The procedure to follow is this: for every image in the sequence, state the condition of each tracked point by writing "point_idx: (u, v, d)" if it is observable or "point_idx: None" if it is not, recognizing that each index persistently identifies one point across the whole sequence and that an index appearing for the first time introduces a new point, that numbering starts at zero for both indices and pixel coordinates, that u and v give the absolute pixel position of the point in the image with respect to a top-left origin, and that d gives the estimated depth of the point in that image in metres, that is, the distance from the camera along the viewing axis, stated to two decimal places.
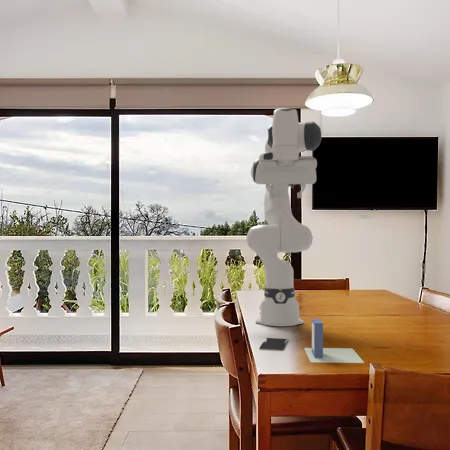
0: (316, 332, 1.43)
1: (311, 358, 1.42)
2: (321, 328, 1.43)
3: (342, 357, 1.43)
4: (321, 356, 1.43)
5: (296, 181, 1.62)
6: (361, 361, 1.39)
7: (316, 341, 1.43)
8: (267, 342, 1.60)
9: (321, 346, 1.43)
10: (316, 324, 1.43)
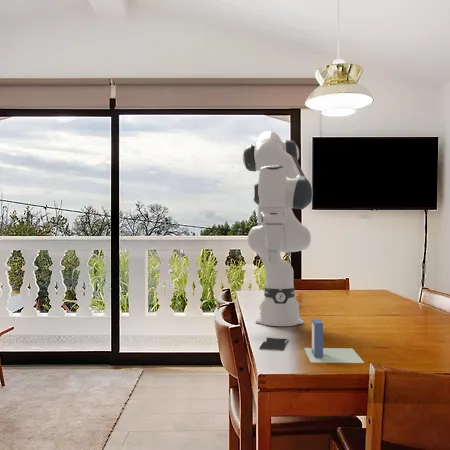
0: (316, 332, 1.43)
1: (311, 358, 1.42)
2: (321, 328, 1.43)
3: (342, 357, 1.43)
4: (321, 356, 1.43)
5: None
6: (361, 361, 1.39)
7: (316, 341, 1.43)
8: (267, 342, 1.60)
9: (321, 346, 1.43)
10: (316, 324, 1.43)
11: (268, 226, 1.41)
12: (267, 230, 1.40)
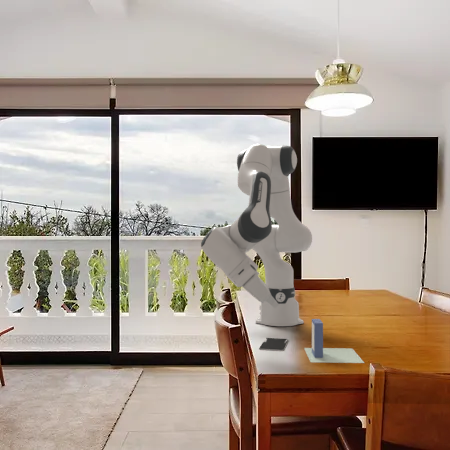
0: (316, 332, 1.43)
1: (311, 358, 1.42)
2: (321, 328, 1.43)
3: (342, 357, 1.43)
4: (321, 356, 1.43)
5: (267, 287, 1.50)
6: (361, 361, 1.39)
7: (316, 341, 1.43)
8: (267, 342, 1.60)
9: (321, 346, 1.43)
10: (316, 324, 1.43)
11: (246, 286, 1.38)
12: (248, 290, 1.37)
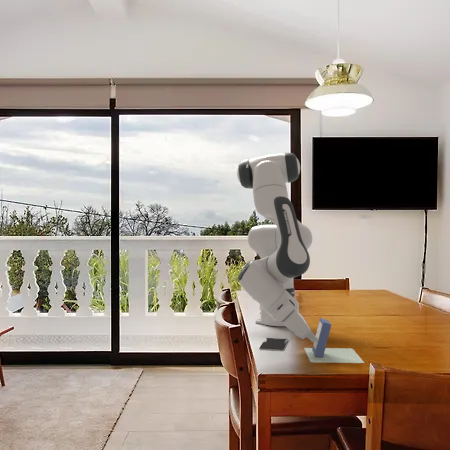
0: (322, 331, 1.43)
1: (311, 358, 1.42)
2: (328, 329, 1.43)
3: (342, 357, 1.43)
4: (321, 356, 1.43)
5: None
6: (361, 361, 1.39)
7: (320, 340, 1.43)
8: (267, 342, 1.60)
9: (324, 346, 1.43)
10: (324, 323, 1.43)
11: (286, 322, 1.37)
12: (288, 326, 1.37)
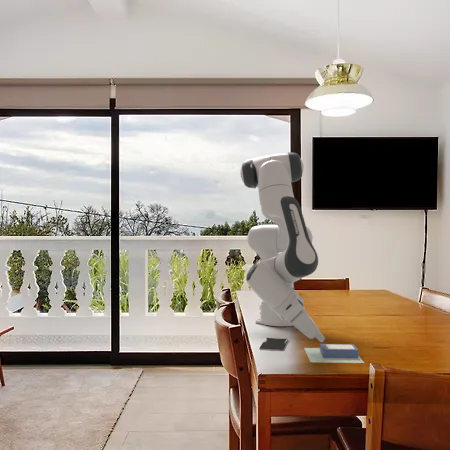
0: (348, 351, 1.42)
1: (311, 358, 1.42)
2: (352, 356, 1.42)
3: None
4: (324, 356, 1.43)
5: None
6: (361, 361, 1.39)
7: (339, 351, 1.42)
8: (267, 342, 1.60)
9: (334, 356, 1.43)
10: (357, 351, 1.42)
11: (294, 322, 1.37)
12: (297, 326, 1.37)
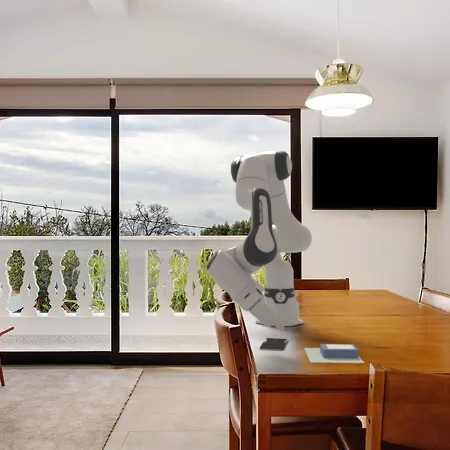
0: (348, 351, 1.42)
1: (311, 358, 1.42)
2: (352, 356, 1.42)
3: None
4: (324, 356, 1.43)
5: (273, 309, 1.50)
6: (361, 361, 1.39)
7: (339, 351, 1.42)
8: (267, 342, 1.60)
9: (334, 356, 1.43)
10: (357, 351, 1.42)
11: (252, 310, 1.38)
12: (254, 314, 1.37)
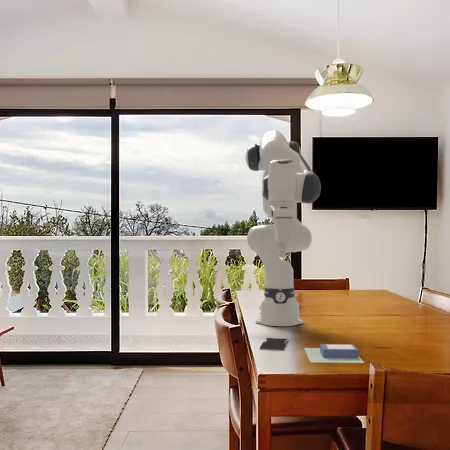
0: (348, 351, 1.42)
1: (311, 358, 1.42)
2: (352, 356, 1.42)
3: None
4: (324, 356, 1.43)
5: None
6: (361, 361, 1.39)
7: (339, 351, 1.42)
8: (267, 342, 1.60)
9: (334, 356, 1.43)
10: (357, 351, 1.42)
11: (278, 220, 1.41)
12: (277, 224, 1.41)
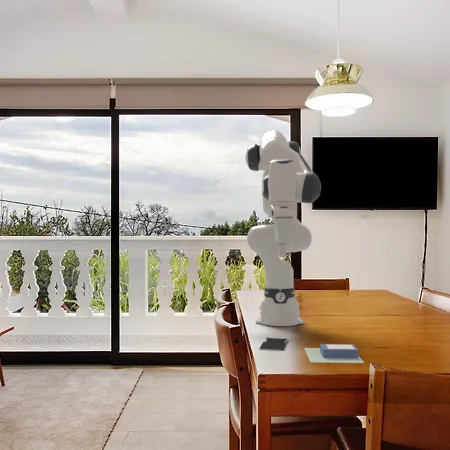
0: (348, 351, 1.42)
1: (311, 358, 1.42)
2: (352, 356, 1.42)
3: None
4: (324, 356, 1.43)
5: None
6: (361, 361, 1.39)
7: (339, 351, 1.42)
8: (267, 342, 1.60)
9: (334, 356, 1.43)
10: (357, 351, 1.42)
11: (279, 219, 1.41)
12: (278, 223, 1.41)
